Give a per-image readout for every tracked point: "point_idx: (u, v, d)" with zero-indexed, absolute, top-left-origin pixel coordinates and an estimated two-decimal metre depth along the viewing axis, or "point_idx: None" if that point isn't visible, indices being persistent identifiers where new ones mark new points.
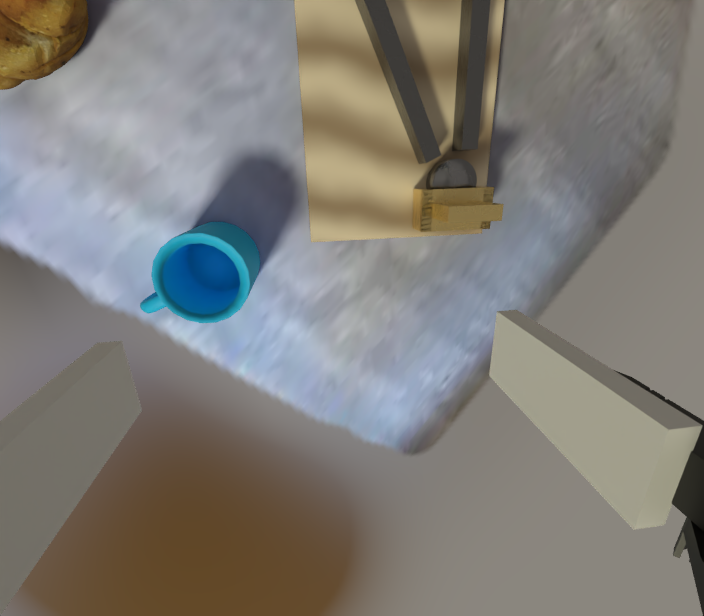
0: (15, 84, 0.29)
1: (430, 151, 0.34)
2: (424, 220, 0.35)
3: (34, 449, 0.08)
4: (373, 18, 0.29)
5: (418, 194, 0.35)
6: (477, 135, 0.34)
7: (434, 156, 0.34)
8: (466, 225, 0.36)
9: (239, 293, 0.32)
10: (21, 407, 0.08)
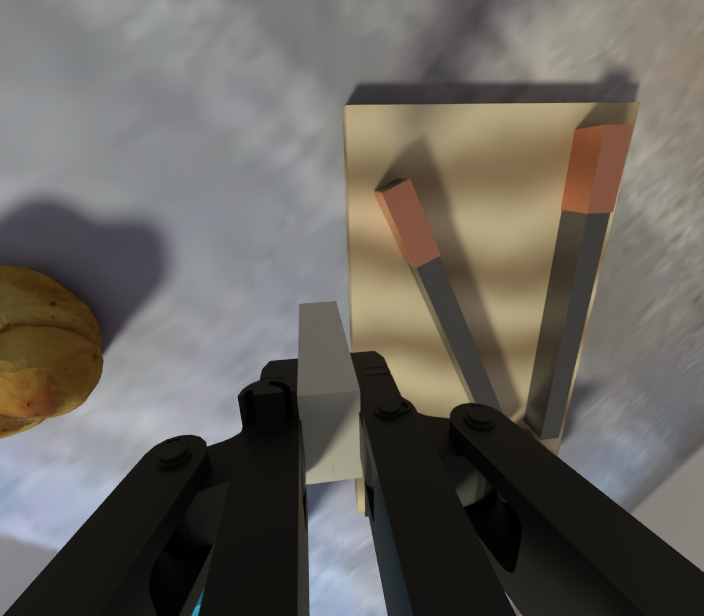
0: None
1: None
2: None
3: None
4: (449, 337, 0.24)
5: None
6: (559, 426, 0.29)
7: None
8: None
9: None
10: None
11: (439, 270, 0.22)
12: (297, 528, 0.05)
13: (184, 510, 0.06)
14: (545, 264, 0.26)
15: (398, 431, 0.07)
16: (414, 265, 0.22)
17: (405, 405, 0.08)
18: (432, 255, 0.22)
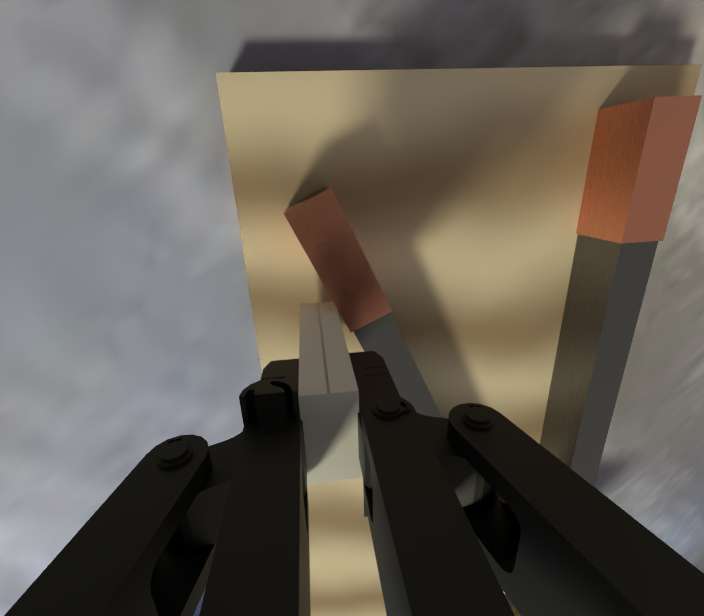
0: None
1: None
2: None
3: None
4: None
5: None
6: None
7: None
8: None
9: None
10: (299, 341, 0.11)
11: (391, 334, 0.14)
12: (298, 528, 0.05)
13: (185, 510, 0.06)
14: (554, 313, 0.17)
15: (397, 431, 0.07)
16: (349, 327, 0.14)
17: (404, 405, 0.08)
18: (378, 311, 0.13)
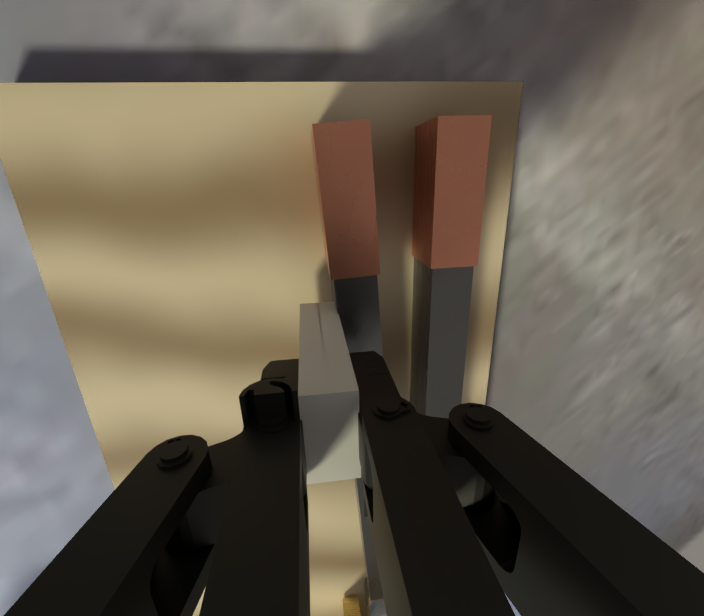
0: None
1: None
2: None
3: None
4: None
5: None
6: None
7: None
8: None
9: None
10: (299, 341, 0.11)
11: (370, 299, 0.13)
12: (298, 528, 0.05)
13: (185, 510, 0.06)
14: (401, 337, 0.17)
15: (397, 431, 0.07)
16: (331, 274, 0.13)
17: (404, 405, 0.08)
18: (366, 269, 0.13)
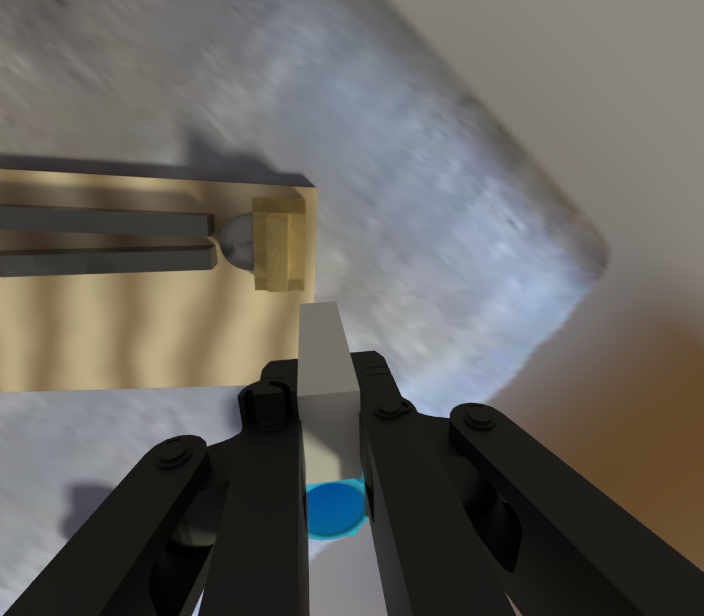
0: None
1: (200, 261, 0.28)
2: (290, 287, 0.29)
3: None
4: (41, 273, 0.27)
5: None
6: (190, 217, 0.27)
7: (208, 258, 0.28)
8: (299, 233, 0.28)
9: (347, 483, 0.33)
10: None
11: None
12: (297, 528, 0.05)
13: (184, 510, 0.06)
14: (26, 232, 0.28)
15: (398, 431, 0.07)
16: None
17: (405, 405, 0.08)
18: None
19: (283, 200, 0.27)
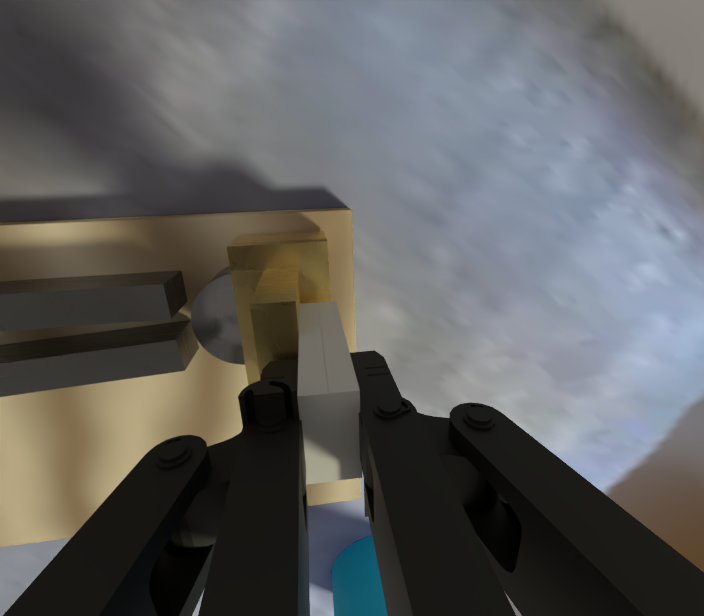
0: None
1: (163, 359, 0.16)
2: None
3: None
4: None
5: None
6: (134, 289, 0.15)
7: (175, 353, 0.16)
8: (320, 300, 0.15)
9: None
10: (299, 341, 0.11)
11: None
12: (297, 528, 0.05)
13: (184, 510, 0.06)
14: None
15: (398, 431, 0.07)
16: None
17: (405, 405, 0.08)
18: None
19: (286, 245, 0.14)
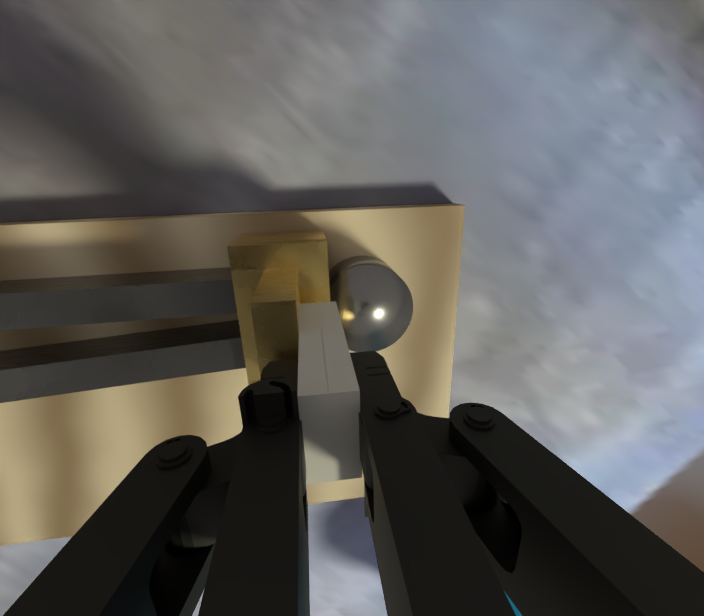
0: None
1: None
2: None
3: None
4: (40, 393, 0.16)
5: None
6: None
7: None
8: (320, 299, 0.15)
9: None
10: (299, 341, 0.11)
11: None
12: (297, 528, 0.05)
13: (184, 510, 0.06)
14: None
15: (398, 431, 0.07)
16: None
17: (405, 405, 0.08)
18: None
19: (286, 245, 0.14)
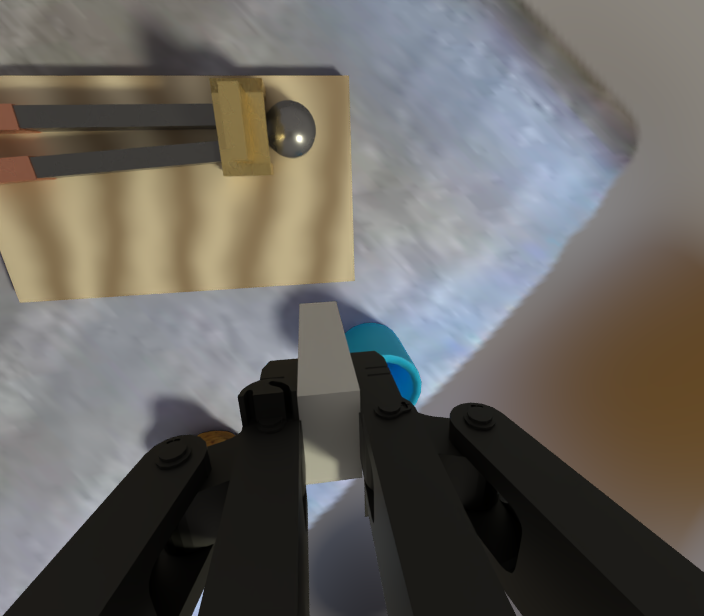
0: None
1: None
2: (257, 171, 0.30)
3: None
4: (108, 168, 0.29)
5: None
6: None
7: None
8: (259, 113, 0.29)
9: (396, 363, 0.35)
10: None
11: (42, 160, 0.29)
12: (297, 528, 0.05)
13: (184, 510, 0.06)
14: (91, 137, 0.31)
15: (398, 431, 0.07)
16: (34, 179, 0.29)
17: (405, 405, 0.08)
18: (27, 162, 0.29)
19: (239, 79, 0.28)
